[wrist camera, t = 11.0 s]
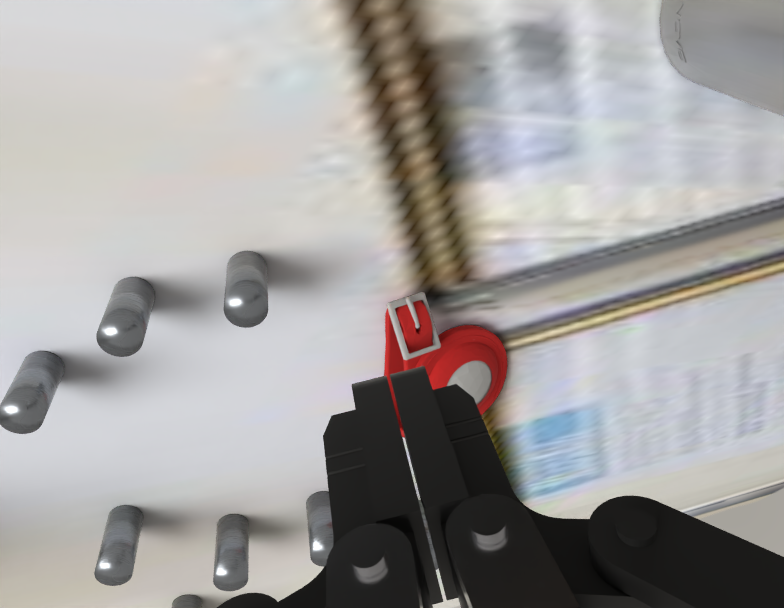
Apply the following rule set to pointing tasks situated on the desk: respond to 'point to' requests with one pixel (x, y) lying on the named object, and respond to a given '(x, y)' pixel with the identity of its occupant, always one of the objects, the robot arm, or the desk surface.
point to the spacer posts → (125, 338)
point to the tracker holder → (443, 352)
